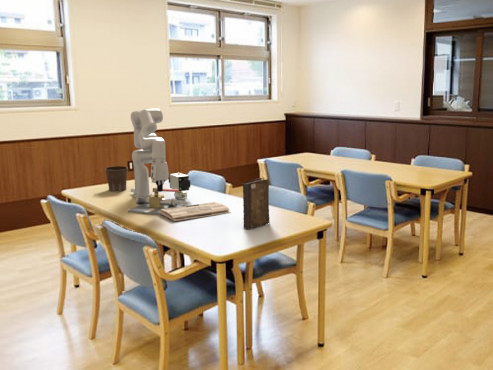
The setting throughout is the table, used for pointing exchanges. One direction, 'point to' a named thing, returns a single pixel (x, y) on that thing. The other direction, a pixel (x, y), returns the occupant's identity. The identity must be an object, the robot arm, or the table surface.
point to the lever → (166, 190)
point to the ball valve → (179, 184)
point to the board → (150, 209)
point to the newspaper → (195, 211)
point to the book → (256, 203)
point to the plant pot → (116, 177)
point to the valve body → (156, 201)
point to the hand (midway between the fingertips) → (160, 191)
